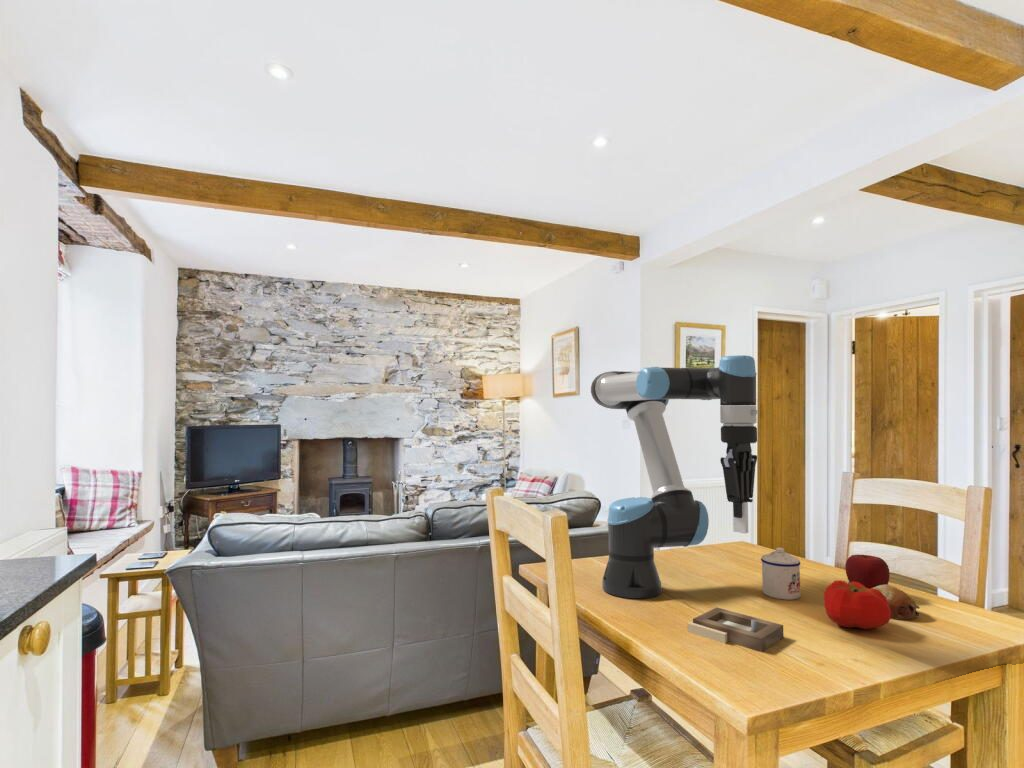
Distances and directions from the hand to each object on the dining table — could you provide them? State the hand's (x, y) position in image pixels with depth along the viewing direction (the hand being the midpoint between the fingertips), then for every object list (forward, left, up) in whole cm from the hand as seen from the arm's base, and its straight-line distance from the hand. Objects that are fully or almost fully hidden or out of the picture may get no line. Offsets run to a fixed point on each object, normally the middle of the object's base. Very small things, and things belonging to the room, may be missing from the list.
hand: (740, 532), depth 123 cm
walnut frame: (+4, -10, -18) cm, 21 cm away
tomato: (+17, +17, -20) cm, 31 cm away
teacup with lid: (-3, +28, -20) cm, 34 cm away
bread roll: (+20, +32, -20) cm, 43 cm away
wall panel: (+2, -10, -20) cm, 22 cm away
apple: (+12, +43, -20) cm, 49 cm away
